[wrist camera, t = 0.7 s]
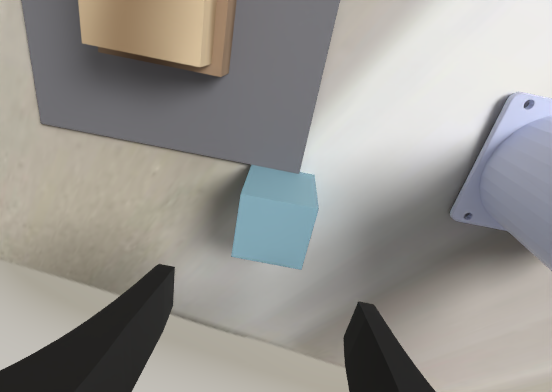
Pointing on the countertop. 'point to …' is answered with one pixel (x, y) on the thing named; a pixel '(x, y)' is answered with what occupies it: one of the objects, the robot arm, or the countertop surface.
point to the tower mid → (152, 28)
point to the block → (275, 217)
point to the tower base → (220, 44)
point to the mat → (190, 84)
